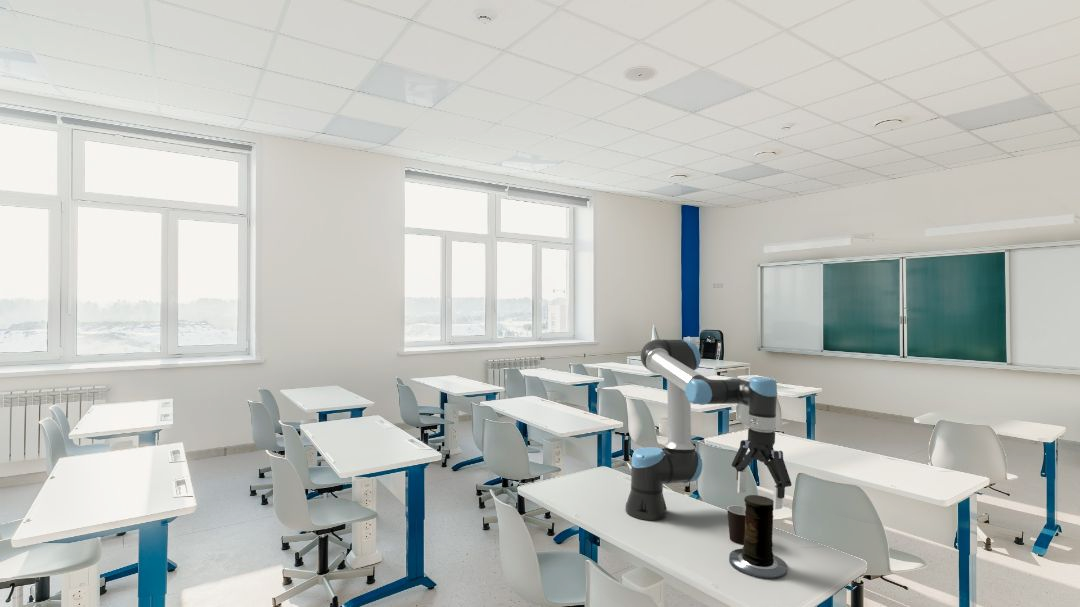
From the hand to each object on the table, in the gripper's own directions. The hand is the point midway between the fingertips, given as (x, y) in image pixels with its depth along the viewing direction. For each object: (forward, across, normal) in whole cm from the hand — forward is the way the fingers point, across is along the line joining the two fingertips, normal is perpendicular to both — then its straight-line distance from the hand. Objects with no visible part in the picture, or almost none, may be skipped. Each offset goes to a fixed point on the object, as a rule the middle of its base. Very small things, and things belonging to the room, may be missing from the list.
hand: (758, 500), depth 157 cm
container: (+18, 0, 0) cm, 18 cm away
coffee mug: (+20, -14, +10) cm, 26 cm away
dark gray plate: (+19, 0, 0) cm, 19 cm away
